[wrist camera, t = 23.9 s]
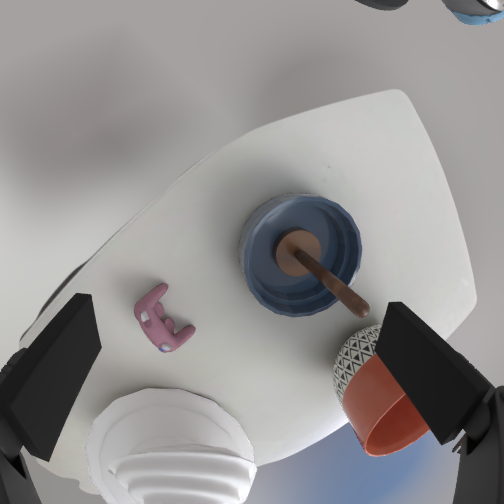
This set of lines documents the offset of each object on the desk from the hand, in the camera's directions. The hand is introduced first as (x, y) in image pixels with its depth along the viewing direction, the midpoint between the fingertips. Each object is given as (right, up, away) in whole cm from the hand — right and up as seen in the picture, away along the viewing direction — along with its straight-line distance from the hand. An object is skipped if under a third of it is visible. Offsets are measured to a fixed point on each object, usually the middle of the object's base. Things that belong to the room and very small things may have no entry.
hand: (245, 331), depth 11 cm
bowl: (+7, +4, +32) cm, 33 cm away
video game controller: (-13, -6, +32) cm, 35 cm away
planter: (+22, -16, +41) cm, 49 cm away
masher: (+7, +3, +32) cm, 33 cm away
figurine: (-16, -30, +38) cm, 51 cm away
